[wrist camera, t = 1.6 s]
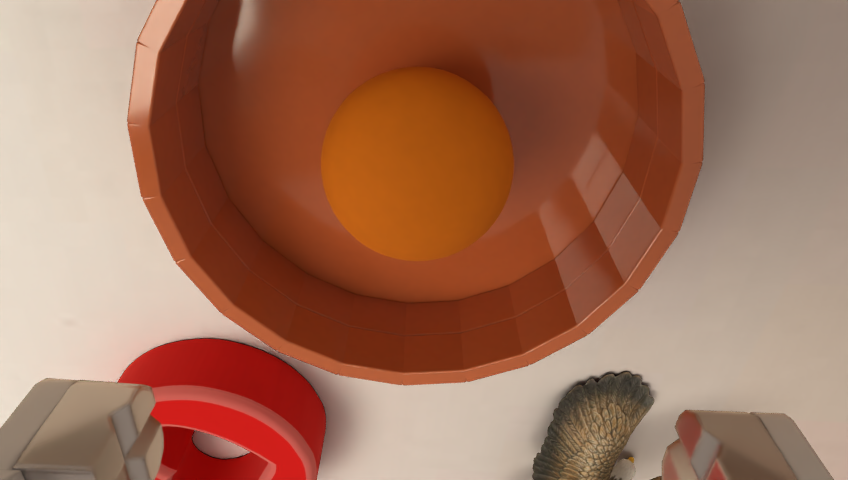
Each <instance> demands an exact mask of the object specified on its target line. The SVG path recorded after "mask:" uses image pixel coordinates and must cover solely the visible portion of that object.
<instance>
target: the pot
mask: <svg viewBox="0 0 848 480" xmlns="http://www.w3.org/2000/svg"><path fill="white" fill-rule="evenodd" d="M137 41H138V42H137V44H136V52H135V60H134V68H133V76H132V85H131V93H130V101H129V109H128V117H127V122H128V124H127V125H128V131H129V136H130V141H131V146H132V151H133V157H134V162H135V167H136V172H137V177H138V183H139V188H140V193H141V197H143V201H144V203H145V205H146V207H147V209H148V211H149V213H150V215H151V217H152V219H153V221H154V223H155V225H156V227H157V229H158V231H159V232H160V234H161V236H162V238H163V240H164V242H165V244H166V246H167V248H168V250H169V252H170V254H171V256H172V258H173V260H174V261H176V264H177V265H178V266H179V267H180V268H181V270H182V271H183V272H184V273H185V274H186V275H187V276H188V277H189V278H190V279H191V281H192V282H193V283H194V284H195V285H196V286H197V287H198V288H199V289H200V291H201V292H202V293H203V294H204V295H205V296H206V297H207V298H208V299H209V300H210V302H211V303H212V304H213V305H214V306H215V307H216V308H217V309H218V310H219V311H220V312H221V313H222V314H223V315H224V316H226V317H227V318H229V319H230V320H232V321H233V322H235V323H236V324H238V325H239V326H240V327H242V328H243V329H245V330H246V331H248V332H249V333H251V334H252V335H254V336H255V337H257V338H258V339H260V340H261V341H263V342H264V343H266V344H267V345H269V346H270V347H271V348H273V349H274V350H278V352H280V353H283V354H285V355H288V356H290V357H293V358H296V359H298V360H301V361H303V362H306V363H308V364H311V365H314V366H316V367H319V368H321V369H324V370H326V371H329V372H331V373H334V374H339V375H340V376H347V377H353V378H359V379H365V380H371V381H378V382H384V383H390V384H396V385H402V384H403V385H421V384H441V383H461V382H466V381H467V382H470V381H473V380H477V379H481V378H485V377H488V376H492V375H496V374H500V373H503V372H507V371H511V370H515V369H518V368H522V367H526V366H528V365H529V364H530V365H531V364H533V363H535V362H537V361H539V360H541V359H543V358H545V357H547V356H549V355H550V354H552V353H554V352H556V351H558V350H560V349H562V348H564V347H566V346H568V345H570V344H572V343H573V342H575V341H577V340H579V339H581V338H583V337H585V336H587V334H590V333H591V332H592V331H593V330H594V329H596V328H597V327H598V326H599V325H600V324H601V323H602V322H604V321H605V320H606V319H607V318H608V317H609V316H611V315H612V314H613V313H614V312H615V311H616V310H617V309H619V308H620V307H621V306H622V305H623V304H624V303H625V302H627V301H628V300H629V299H630V298H631V297H632V296H634V295H635V294H636V293H637V292H638V289H641V287H642V286H643V284H644V283H645V281H646V280H647V278H648V277H649V276H650V274H651V273H652V271H653V270H654V268H655V267H656V265H657V264H658V262H659V261H660V260H661V258H662V257H663V255H664V254H665V252H666V251H667V249H668V248H669V246H670V245H671V244H672V242H673V241H674V239H675V238H676V236H677V235H678V231H680V229H681V226H682V223H683V220H684V217H685V214H686V211H687V208H688V205H689V202H690V199H691V196H692V193H693V190H694V187H695V184H696V181H697V178H698V175H699V172H700V169H701V166H702V161H703V141H704V100H705V84H704V77H703V74H702V70H701V67H700V64H699V61H698V57H697V54H696V51H695V48H694V44H693V41H692V38H691V35H690V31H689V28H688V25H687V21H686V18H685V15H684V12H683V8H682V5H681V3H680V1H679V0H156V2H155V4H154V6H153V8H152V10H151V12H150V15H149V17H148V19H147V21H146V23H145V25H144V27H143V29H142V31H141V33H140V35H139V37H138V40H137ZM417 66H419V67H431V68H436V69H441V70H445V71H447V72H450V73H453V74H456V75H458V76H459V77H461V78H463V79H465V80H467V81H468V82H470V83H471V84H473V85H474V86H475V87H477V88H478V89H479V90H481V91H482V92H483V93H484V94H485V95H486V96H487V97H488V98H489V99H490V101H491V102H492V103H493V104H494V105H495V107H496V108H497V110H498V112H499V113H500V115H501V116H502V118H503V120H504V122H505V125H506V127H507V129H508V132H509V135H510V139H511V142H512V148H513V156H514V173H513V179H512V185H511V190H510V193H509V196H508V199H507V201H506V204H505V206H504V208H503V210H502V212H501V214H500V215H499V217H498V218H497V220H496V221H495V223H494V224H493V225H492V226H491V228H490V229H489V230H488V231H487V232H486V233H485V234H484V235H483V236H482V237H480V238H479V239H478V240H477V241H476V242H474V243H473V244H472V245H470V246H469V247H467V248H465V249H463V250H462V251H460V252H458V253H455V254H453V255H450V256H448V257H444V258H440V259H436V260H429V261H405V260H400V259H395V258H391V257H388V256H384V255H382V254H380V253H377V252H375V251H373V250H371V249H370V248H368V247H366V246H365V245H363V244H362V243H361V242H359V241H358V240H357V239H355V238H354V237H353V236H352V235H351V234H350V233H349V232H348V231H347V230H346V229H345V228H344V226H343V225H342V224H341V223H340V222H339V220H338V219H337V217H336V215H335V214H334V212H333V210H332V208H331V206H330V204H329V202H328V199H327V197H326V194H325V191H324V187H323V182H322V175H321V153H322V146H323V141H324V137H325V134H326V130H327V128H328V126H329V124H330V121H331V119H332V117H333V116H334V114H335V113H336V111H337V109H338V108H339V106H340V105H341V104H342V102H343V101H344V100H345V99H346V98H347V96H348V95H349V94H351V93H352V92H353V91H354V90H355V89H356V88H357V87H359V86H360V85H362V84H363V83H365V82H366V81H368V80H369V79H371V78H373V77H375V76H377V75H379V74H381V73H384V72H387V71H390V70H393V69H398V68H404V67H417Z"/></svg>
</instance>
